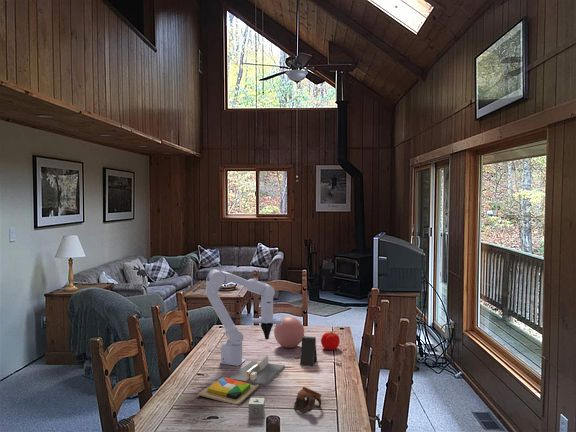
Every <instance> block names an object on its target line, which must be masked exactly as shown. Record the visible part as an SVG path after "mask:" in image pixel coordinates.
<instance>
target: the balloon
mask: <svg viewBox="0 0 576 432" xmlns="http://www.w3.org/2000/svg"><path fill="white" fill-rule="evenodd" d="M280 320H283V324H282V325H280V324H275V325H274V330H273V333H274V339H275V340H276V341H275V342H277V344H278V345H280V346H281V347H283V348H286V349H287V348H288V349H292V348H296V347H297V346H298V345H300V344H302V337H303V336H305V327H304V325H303V323H302V322H301V321H300V320H299V319H298V318H297V317H293V316H285V317H282V318H281V319H280Z"/></svg>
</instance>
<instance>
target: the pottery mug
mask: <svg viewBox="0 0 576 432" xmlns="http://www.w3.org/2000/svg"><path fill="white" fill-rule="evenodd" d="M321 397H322V394H321V393H319V392H317V391H314V390H313V389H310V388H309V387H305V386H302V388H301V389H300V390H299V391H298V392H297V394H296V397H295V398H296V399H295V401H294V402H293V403H294V404H293V409H294V410H296V411H298V412H300V413H302V414H304V413H305V410H306V412H312V411H313V410H314V406H315V403H316V401H317V402H318V407H319V408H320V407H321V406H322V398H321Z"/></svg>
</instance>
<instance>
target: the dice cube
mask: <svg viewBox="0 0 576 432" xmlns="http://www.w3.org/2000/svg"><path fill="white" fill-rule="evenodd" d="M265 403H266V400H265V397H249V402H248V419H264V416H265V413H266V408H265V405H266V404H265Z"/></svg>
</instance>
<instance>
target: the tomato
mask: <svg viewBox="0 0 576 432" xmlns="http://www.w3.org/2000/svg"><path fill="white" fill-rule="evenodd" d="M340 340H341V338H340V336H339V334H337V333H335V332H332V331H329V332H325V333H324V334H322V336H321V339H320V344H321V346H322V348H324V350H330V351H332V350H336V349H338V347H339V345H340V342H341V341H340Z"/></svg>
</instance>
